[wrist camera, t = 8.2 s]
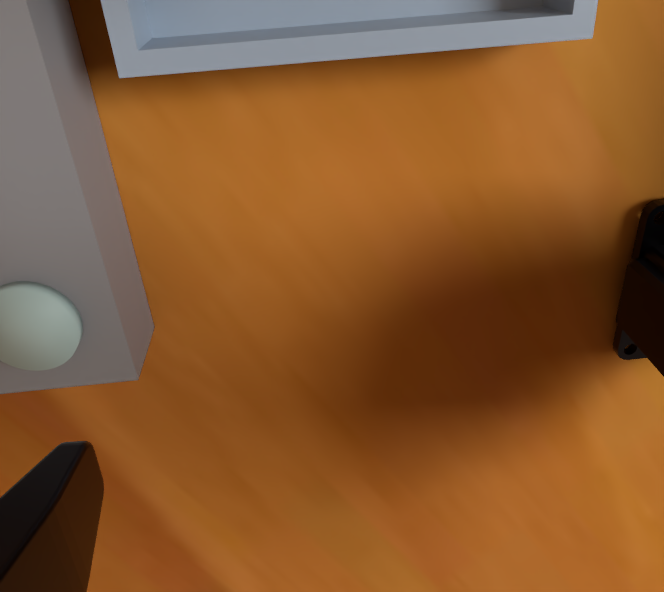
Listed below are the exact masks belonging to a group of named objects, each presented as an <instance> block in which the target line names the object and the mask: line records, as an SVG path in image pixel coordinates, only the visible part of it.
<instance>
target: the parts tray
mask: <svg viewBox="0 0 664 592" xmlns="http://www.w3.org/2000/svg"><path fill="white" fill-rule="evenodd" d="M101 4H102V8H103V13H104V17H105V21H106V25H107V29H108V34H109V38H110V42H111V46H112V50H113V55H114V59H115V63H116V67H117V71H118V75H119V78H128V77H140V76H152V75H164V74H176V73H188V72H200V71H211V70H223V69H235V68H247V67H259V66H271V65H283V64H294V63H306V62H318V61H330V60H342V59H354V58H366V57H377V56H389V55H401V54H413V53H425V52H437V51H449V50H460V49H472V48H484V47H496V46H508V45H520V44H532V43H544V42H555V41H567V40H579V39H591V38H593V32H594V25H595V18H596V11H597V4H598V0H101Z"/></svg>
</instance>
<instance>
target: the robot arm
mask: <svg viewBox="0 0 664 592" xmlns="http://www.w3.org/2000/svg"><path fill="white" fill-rule="evenodd" d="M661 211H662V212H663V213H662V215H661V216H660V217H659V218H658V219H656V220H654V218H655V216H656V215H657V214H658V213H659V212H661ZM616 322H617V328H616V332H615V337H614V342H613V349H614V351H615V352H616V353H617V355H618V356H619V357H620V358H622V359H624V360H630V359H640V358H648V359H649V360H650V361H651V363H652V364H653V365H654V366H655V367H656V368H657V369H658V371H659V372H660V373H661V374H662V375H663V376H664V199H661V200H655V201H652V202H651V203H649V204H648V205H647V206H646V207H645V208H644V209H643V211H642V213H641V217H640V221H639V226H638V230H637V235H636V240H635V244H634V249H633V254H632V258H631V261H630V263H629V264H628V266H627V269H626V274H625V279H624V284H623V288H622V293H621V298H620V302H619V307H618V312H617V316H616ZM630 344H631V345H630ZM628 345H630V346H629V347H628V348H625V347H626V346H628ZM103 494H104V483H103V478H102V474H101V471H100V467H99V464H98V461H97V457H96V454H95V451H94V448H93V446H92V444H91V443H90V442H87V441H78V442H65V443H61V444H60V445H58V446H57V447H56V448H55V449H53V450H52V451H51V452H50V453H49V454H48V455H47V456H46V457H45V458H44V459H42V460H41V461H40V462H39V463H38V464H37V465H36V466H35V467H34V468H32V469H31V470H30V471H29V472H28V473H27V474H26V475H25V476H24V477H23V478H21V479H20V480H19V481H18V482H17V483H16V484H15V485H14V486H13V487H12V488H10V489H9V490H8V491H7V492H6V493H5V494H4V495H3V496H2V497H1V498H0V592H87V587H88V582H89V576H90V570H91V565H92V559H93V553H94V547H95V541H96V536H97V530H98V524H99V518H100V512H101V507H102V501H103Z"/></svg>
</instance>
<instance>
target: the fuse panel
mask: <svg viewBox="0 0 664 592" xmlns="http://www.w3.org/2000/svg"><path fill="white" fill-rule="evenodd" d="M153 331H154V324H153V320H152V316H151V312H150V308H149V305H148V301H147V297H146V293H145V289H144V286H143V282H142V278H141V274H140V270H139V267H138V263H137V259H136V255H135V251H134V248H133V244H132V240H131V236H130V232H129V229H128V225H127V221H126V217H125V213H124V210H123V206H122V202H121V198H120V194H119V191H118V187H117V183H116V179H115V175H114V172H113V168H112V164H111V160H110V156H109V153H108V149H107V145H106V141H105V137H104V134H103V130H102V126H101V122H100V118H99V115H98V111H97V107H96V103H95V100H94V96H93V92H92V88H91V84H90V81H89V77H88V73H87V69H86V65H85V62H84V58H83V54H82V50H81V46H80V43H79V39H78V35H77V31H76V27H75V24H74V20H73V16H72V12H71V8H70V5H69V1H68V0H0V394H5V393H15V392H25V391H35V390H45V389H54V388H64V387H74V386H84V385H94V384H104V383H114V382H123V381H133V380H138V379H139V376H140V373H141V370H142V366H143V363H144V360H145V357H146V353H147V350H148V347H149V344H150V340H151V337H152V334H153Z"/></svg>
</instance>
